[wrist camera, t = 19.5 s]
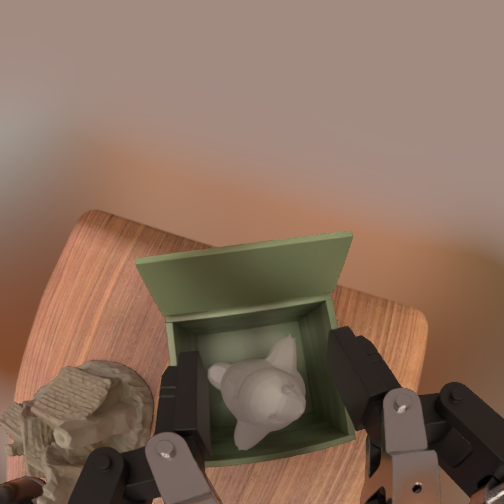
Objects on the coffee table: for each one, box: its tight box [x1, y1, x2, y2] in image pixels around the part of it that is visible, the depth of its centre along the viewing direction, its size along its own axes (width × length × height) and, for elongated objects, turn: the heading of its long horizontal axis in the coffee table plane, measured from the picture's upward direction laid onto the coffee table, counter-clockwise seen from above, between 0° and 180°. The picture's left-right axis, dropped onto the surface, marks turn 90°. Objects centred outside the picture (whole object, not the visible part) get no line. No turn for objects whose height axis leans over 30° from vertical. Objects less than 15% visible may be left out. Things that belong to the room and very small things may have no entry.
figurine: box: [208, 333, 306, 451], centre depth 14 cm, size 8×6×8 cm
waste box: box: [165, 292, 356, 467], centre depth 21 cm, size 11×10×10 cm
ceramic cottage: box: [0, 360, 154, 504], centre depth 16 cm, size 16×16×15 cm
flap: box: [135, 231, 353, 316], centre depth 15 cm, size 11×5×1 cm
